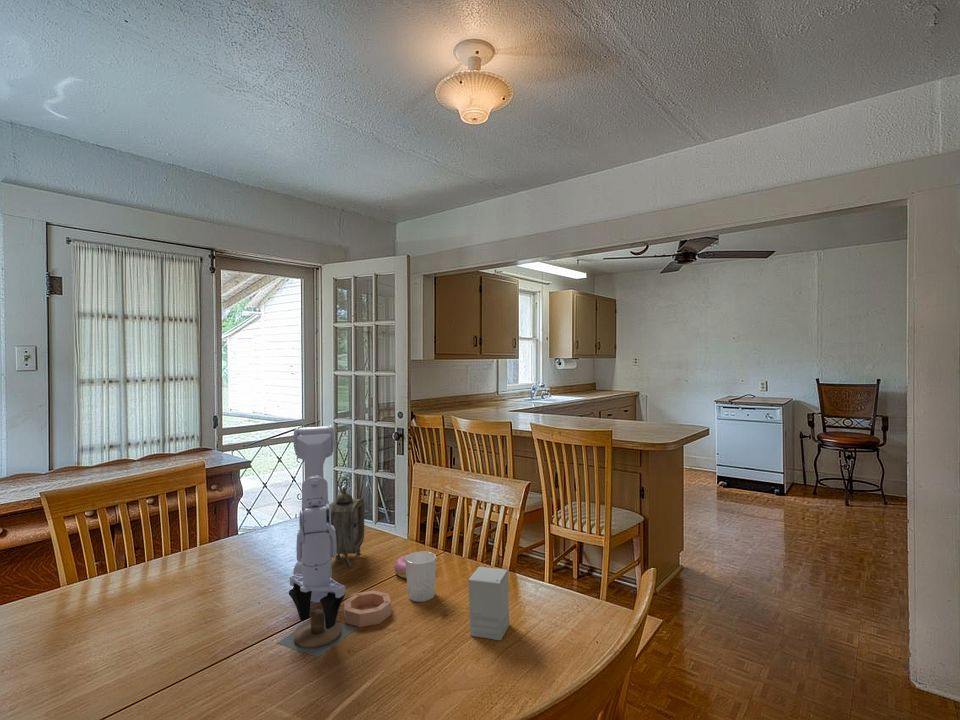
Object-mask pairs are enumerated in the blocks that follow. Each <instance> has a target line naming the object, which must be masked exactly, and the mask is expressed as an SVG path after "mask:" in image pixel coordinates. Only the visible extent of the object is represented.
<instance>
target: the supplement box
mask: <svg viewBox="0 0 960 720" xmlns="http://www.w3.org/2000/svg"><path fill="white" fill-rule="evenodd" d="M509 597H510V595H509V572H508V569H504V568H503V569H502V568H495V567H494V568H493V567H486V566H478V567H477V568H476V569H475V571H473V574H472V575H471V576H470V577H469V579H468V601H469V603H468V605H469V606H468V607H469V611H468V612H469V632H470V633H469V634H470V636H471V637H477V638H484V639H490V640H495V641H502V639H503V637H504V635H505V634H506V631H507V630H508V628H509V625H510V604H509V603H510V602H509V601H510V599H509Z"/></svg>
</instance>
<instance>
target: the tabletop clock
mask: <svg viewBox="0 0 960 720" xmlns="http://www.w3.org/2000/svg"><path fill="white" fill-rule="evenodd" d="M344 482H346V483H345V484H346V485H345V487H343V484H344ZM348 485H349V481H348V479H347V477H343V478H342V480H341V481H340V485H339V489H340V490H339V491H340V494H337V496H336V498H335V500H334V501H333V502H330V503H329V506H330V510H331V525H333V526H334V528H335V534H336V556H335V557H334V559H335V561H338V560H339V561H340V560H341V559H342V557H341V554H342V555H343V556H344V558H345V561H346V563H345V566H346V568H350V567H352V562H351V561H350V560H349V554H351V555H354V554H360V553H361V547H362V544H363V542H364V539H365V505H364V498H354V497H353V496H352V494H351V493H349V492H347V491H348V487H349V486H348Z"/></svg>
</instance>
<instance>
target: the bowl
mask: <svg viewBox="0 0 960 720" xmlns="http://www.w3.org/2000/svg"><path fill="white" fill-rule="evenodd" d="M343 615H344V624H347V625H350V626H355V627H359V628H362V627H368V626H374V625H379V624H382V622H384V621H385V620H386V619H388V618H389V617H391V616H392V600H391V598H390V594H389V593H386V592H382V591H378V590H369V591H362V592H356V593H354V594H353V595H351V596H350V597H348V598H346V599H344V600H343Z"/></svg>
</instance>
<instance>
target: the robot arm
mask: <svg viewBox="0 0 960 720" xmlns="http://www.w3.org/2000/svg"><path fill="white" fill-rule="evenodd" d="M334 428H335V427H334V426H332V425H325V426H324V425H323V426H307V427H298V426H297V427H295V429H294V430H293V449H294V453H295V456H296V458H297V459H299V460H303V461H304V463H305V468H306V479H305V480H304V481H303V483H302V484H301V510H300V511H299V523H298V524H299V526H298V527H299V529H298V531H297V534H296V546H295V547H296V549H295V550H296V560H297V561H296V563H295V565H294V567H293V570H292V571H293V572H292V573H293V574H292V575H291V576H289V586H291V587H292V588H291V589H289V590H288V595H289V597H290V598H291V599H292V601H293V603H294V605H295V607H296V609H297V610H296V611H297V614H298V617H299V620H300V622H304V621H305V620H307V619H309V618H310V617H311V602H314V603H320V604H321V607H322V610H323V611H324V618H325V626H326V629H330V628H331V627H333V626H334V625H335V622H336V621H337V617H338V612H339V610H340V606H341V604H342V603H343V601H344V598H345V596H346V585H344V584H341V583H339V582H338V581H336V580H335V579H333V578H332V576H333V574H332V573H333V571H332V570H333V569H332V567H333V566H332V562H333V559H335V557H336V556H337V554H336V534H335V528H334V526H333V525H331V510H330V506H329V505H330V501H329V490H328V489H329V487H328V480H326V479H325V478H324V464H325V462H326V459H327V458H329V457H331V456H333V453H334V448H335V429H334Z"/></svg>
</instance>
